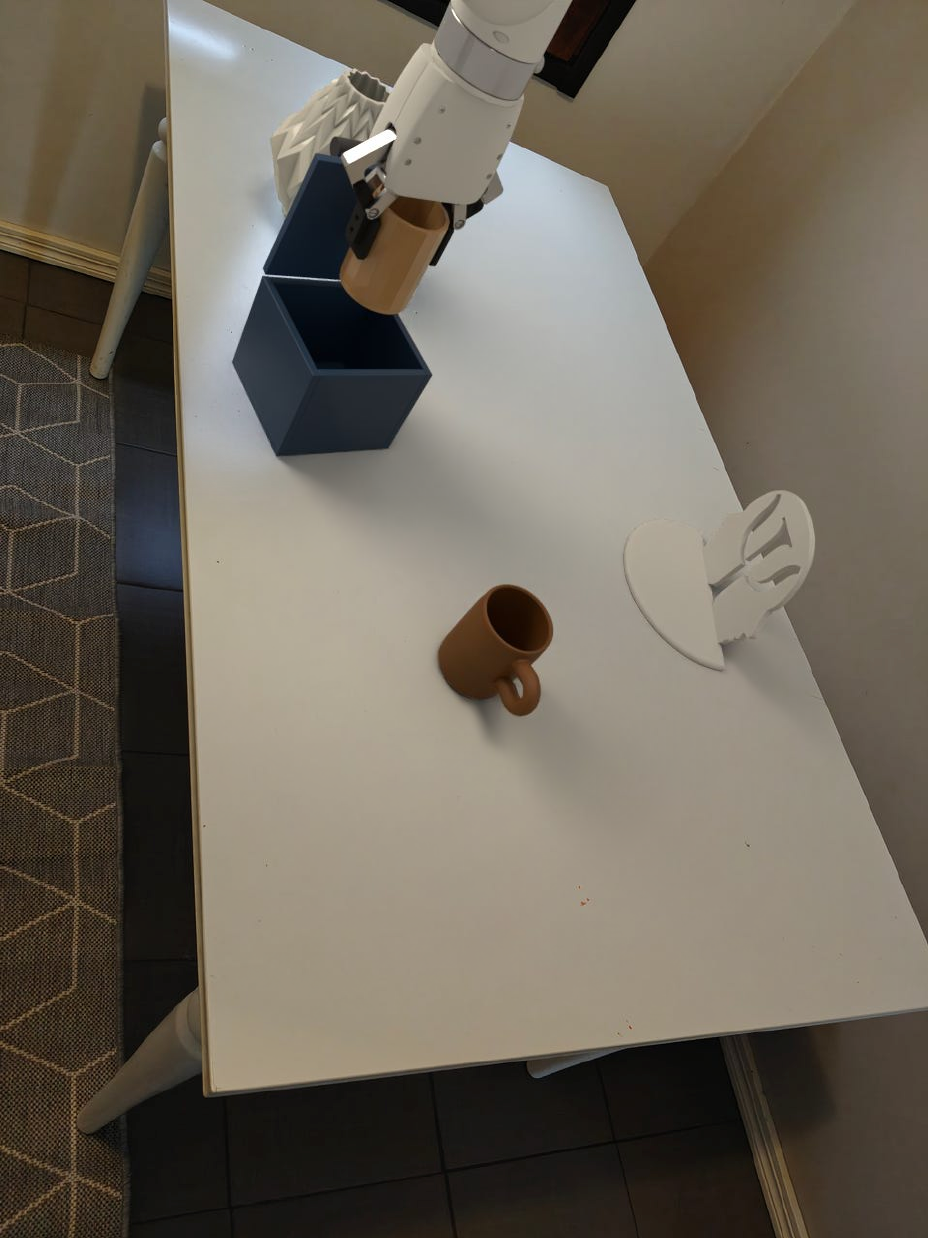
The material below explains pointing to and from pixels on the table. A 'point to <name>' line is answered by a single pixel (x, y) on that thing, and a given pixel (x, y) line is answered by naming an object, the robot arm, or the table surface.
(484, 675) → the mug
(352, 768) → the table surface
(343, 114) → the vase
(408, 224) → the wooden cup
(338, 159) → the cooler lid
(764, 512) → the ornament
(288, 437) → the cooler
